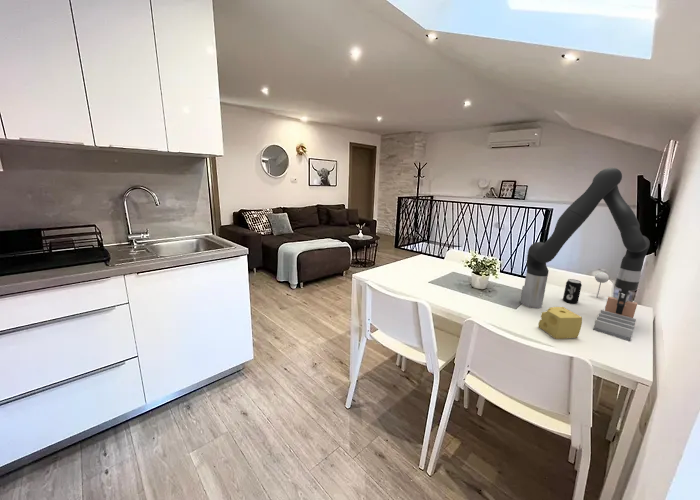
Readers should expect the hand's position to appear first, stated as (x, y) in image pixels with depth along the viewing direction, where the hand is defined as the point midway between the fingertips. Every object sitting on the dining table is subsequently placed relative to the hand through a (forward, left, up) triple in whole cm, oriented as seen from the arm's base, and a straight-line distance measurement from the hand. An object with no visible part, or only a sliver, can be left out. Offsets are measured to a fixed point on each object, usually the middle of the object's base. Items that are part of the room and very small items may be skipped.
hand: (619, 310), depth 135 cm
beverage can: (-4, +21, -5) cm, 22 cm away
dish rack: (-11, -7, -4) cm, 14 cm away
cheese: (-39, -6, -5) cm, 40 cm away
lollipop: (+16, +23, -5) cm, 28 cm away
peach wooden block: (0, 0, -5) cm, 5 cm away
